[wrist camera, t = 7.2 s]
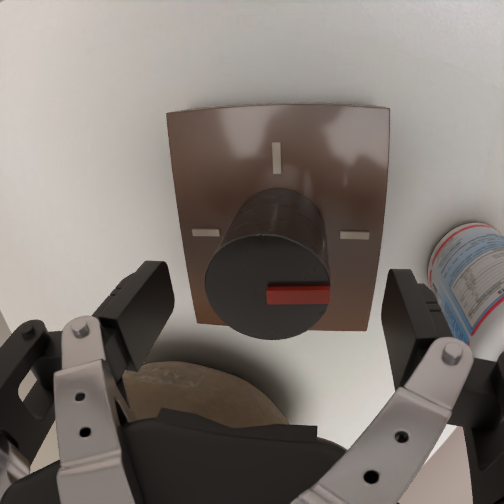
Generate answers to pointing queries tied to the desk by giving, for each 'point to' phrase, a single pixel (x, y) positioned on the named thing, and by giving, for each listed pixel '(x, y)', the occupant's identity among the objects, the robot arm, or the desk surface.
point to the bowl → (199, 394)
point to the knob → (271, 267)
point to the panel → (286, 187)
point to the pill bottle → (471, 286)
